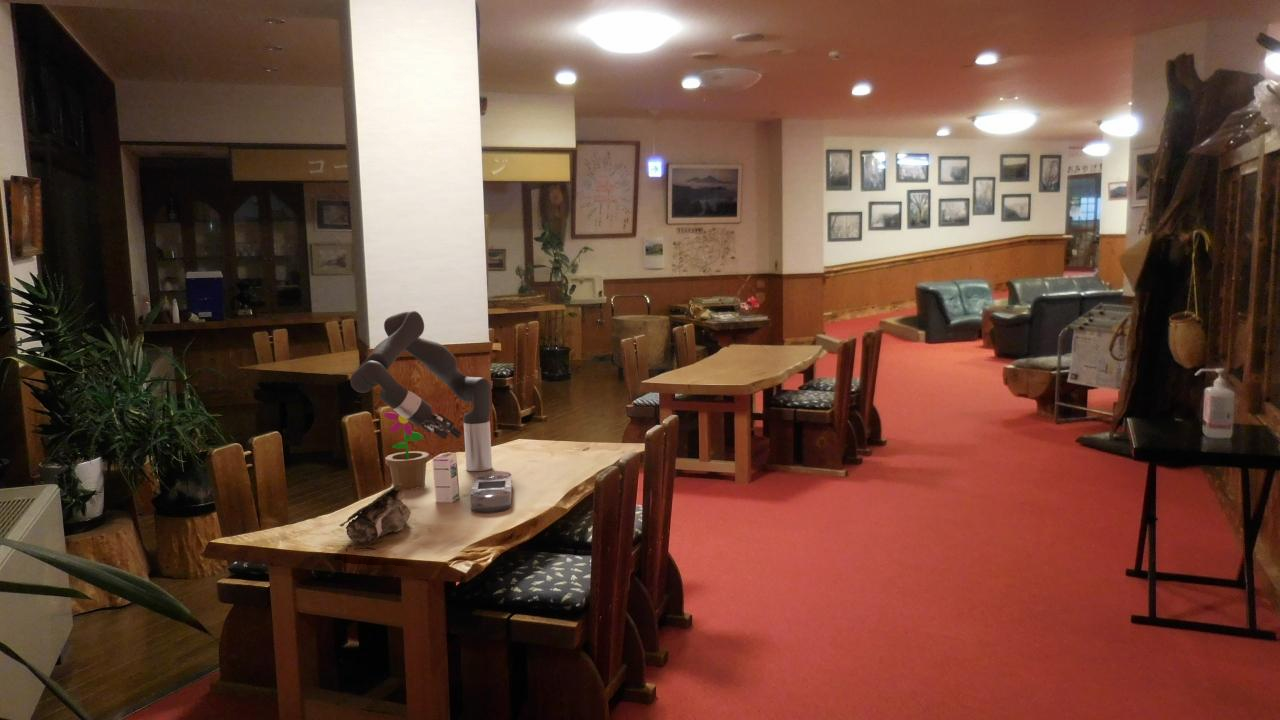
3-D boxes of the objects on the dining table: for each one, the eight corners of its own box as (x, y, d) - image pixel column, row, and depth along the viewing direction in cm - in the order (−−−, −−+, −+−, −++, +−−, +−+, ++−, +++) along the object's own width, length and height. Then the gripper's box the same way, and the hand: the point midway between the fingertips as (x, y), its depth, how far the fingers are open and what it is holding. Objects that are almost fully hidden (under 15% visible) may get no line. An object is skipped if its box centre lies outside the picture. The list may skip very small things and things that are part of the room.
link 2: (474, 493, 292) (473, 481, 291) (511, 490, 293) (511, 478, 293) (469, 514, 268) (469, 501, 267) (510, 511, 269) (510, 498, 269)
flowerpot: (385, 493, 296) (379, 402, 292) (388, 482, 310) (382, 396, 306) (430, 489, 299) (425, 399, 295) (431, 478, 313) (426, 393, 309)
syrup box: (452, 502, 281) (450, 457, 280) (435, 502, 282) (432, 457, 281) (459, 497, 287) (457, 453, 285) (442, 497, 288) (439, 452, 286)
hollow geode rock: (357, 569, 238) (390, 530, 234) (322, 535, 239) (354, 497, 235) (405, 532, 265) (436, 498, 261) (374, 502, 266) (404, 467, 262)
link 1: (511, 500, 281) (510, 488, 281) (472, 503, 280) (471, 490, 279) (512, 481, 305) (511, 470, 304) (476, 484, 303) (475, 472, 303)
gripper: (429, 395, 267) (470, 424, 274) (407, 398, 277) (447, 426, 285) (416, 416, 263) (458, 446, 271) (395, 419, 274) (436, 447, 282)
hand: (453, 436), depth 278 cm, fingers open, 8 cm apart
